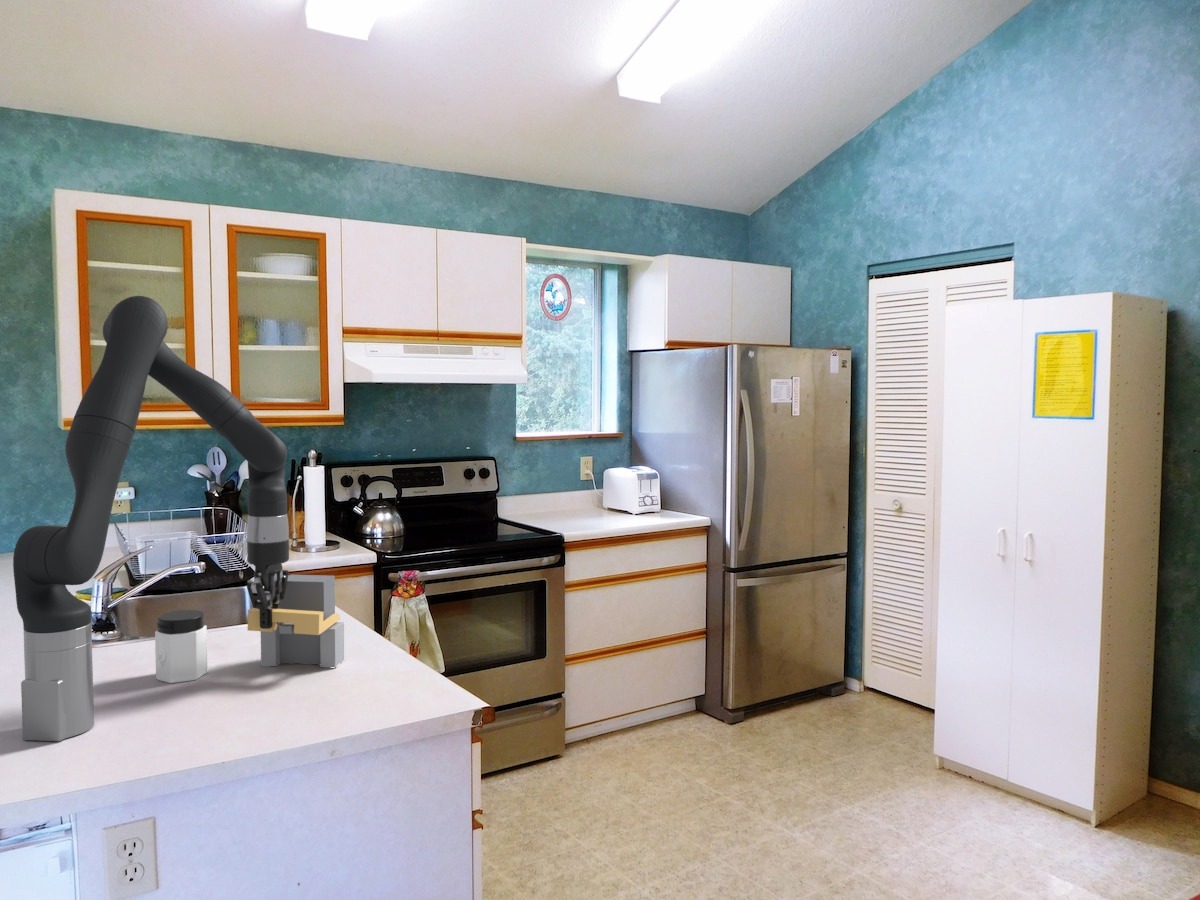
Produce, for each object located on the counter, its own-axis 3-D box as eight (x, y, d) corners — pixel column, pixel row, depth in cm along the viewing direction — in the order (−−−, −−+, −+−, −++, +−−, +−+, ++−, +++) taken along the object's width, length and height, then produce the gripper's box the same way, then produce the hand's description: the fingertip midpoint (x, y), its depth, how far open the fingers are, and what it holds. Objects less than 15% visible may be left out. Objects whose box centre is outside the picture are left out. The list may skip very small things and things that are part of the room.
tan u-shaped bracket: (318, 635, 163) (319, 614, 162) (247, 630, 163) (248, 610, 163) (339, 619, 174) (340, 600, 174) (273, 615, 175) (273, 596, 174)
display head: (324, 678, 164) (323, 591, 162) (247, 675, 164) (246, 589, 163) (349, 656, 177) (348, 576, 176) (278, 654, 178) (277, 574, 177)
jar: (147, 678, 163) (146, 616, 162) (186, 666, 170) (185, 607, 169) (176, 686, 158) (175, 623, 157) (215, 674, 165) (214, 613, 164)
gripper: (271, 544, 156) (272, 637, 157) (301, 532, 170) (302, 617, 171) (231, 543, 157) (233, 635, 158) (265, 531, 170) (266, 616, 171)
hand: (269, 625), depth 164 cm, fingers closed on tan u-shaped bracket, 2 cm apart
